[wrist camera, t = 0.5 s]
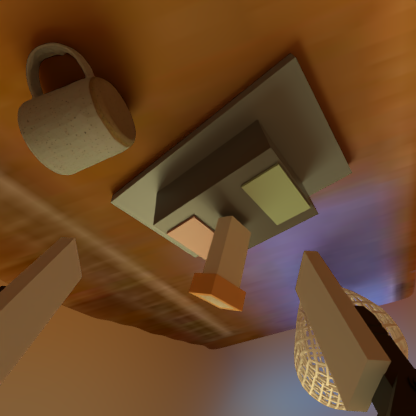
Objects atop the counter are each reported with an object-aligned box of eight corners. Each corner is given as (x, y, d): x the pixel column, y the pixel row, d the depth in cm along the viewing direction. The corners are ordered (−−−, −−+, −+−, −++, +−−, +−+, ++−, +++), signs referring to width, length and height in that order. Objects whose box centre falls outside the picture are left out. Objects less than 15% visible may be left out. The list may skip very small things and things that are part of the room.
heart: (337, 300, 66) (386, 410, 50) (276, 310, 67) (305, 419, 51) (359, 231, 46) (452, 374, 30) (273, 247, 48) (318, 390, 32)
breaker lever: (237, 236, 33) (219, 308, 28) (212, 215, 30) (188, 292, 25) (257, 234, 31) (242, 311, 26) (232, 212, 28) (211, 294, 23)
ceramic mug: (144, 126, 30) (134, 162, 24) (85, 151, 31) (64, 190, 26) (82, 23, 23) (48, 39, 17) (11, 61, 24) (-41, 88, 19)
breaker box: (194, 250, 47) (196, 290, 41) (112, 195, 36) (99, 237, 31) (347, 166, 36) (377, 204, 30) (290, 53, 25) (321, 78, 20)
